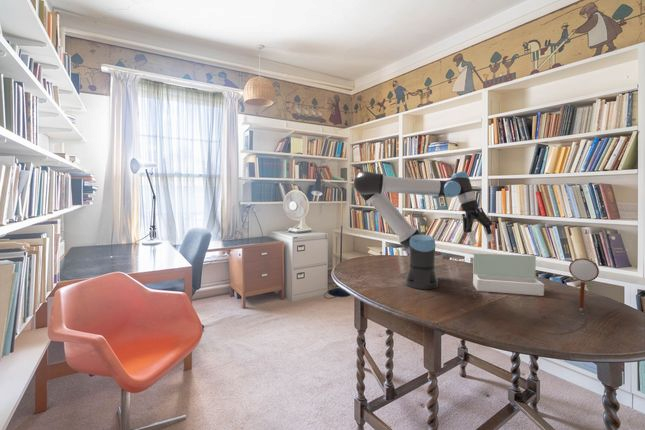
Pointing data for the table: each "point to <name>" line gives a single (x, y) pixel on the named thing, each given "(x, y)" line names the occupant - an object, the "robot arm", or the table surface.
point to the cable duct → (508, 284)
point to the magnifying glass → (583, 274)
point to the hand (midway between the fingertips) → (482, 243)
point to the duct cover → (504, 265)
